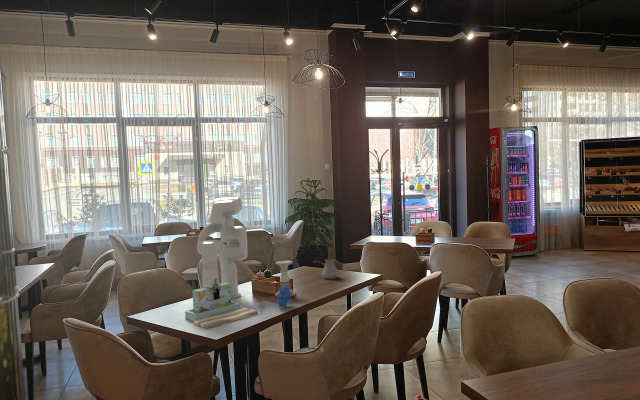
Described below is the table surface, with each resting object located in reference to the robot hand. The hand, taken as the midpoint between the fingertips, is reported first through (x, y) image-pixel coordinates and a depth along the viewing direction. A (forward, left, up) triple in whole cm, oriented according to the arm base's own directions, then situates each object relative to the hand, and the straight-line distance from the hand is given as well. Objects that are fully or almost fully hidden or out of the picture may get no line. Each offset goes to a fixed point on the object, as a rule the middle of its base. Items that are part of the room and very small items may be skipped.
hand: (212, 298), depth 242 cm
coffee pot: (-11, +93, -9) cm, 94 cm away
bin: (0, 0, -9) cm, 9 cm away
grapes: (+19, +32, -9) cm, 38 cm away
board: (+13, 0, -9) cm, 15 cm away
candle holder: (0, +49, -9) cm, 50 cm away
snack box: (0, 0, -9) cm, 9 cm away
